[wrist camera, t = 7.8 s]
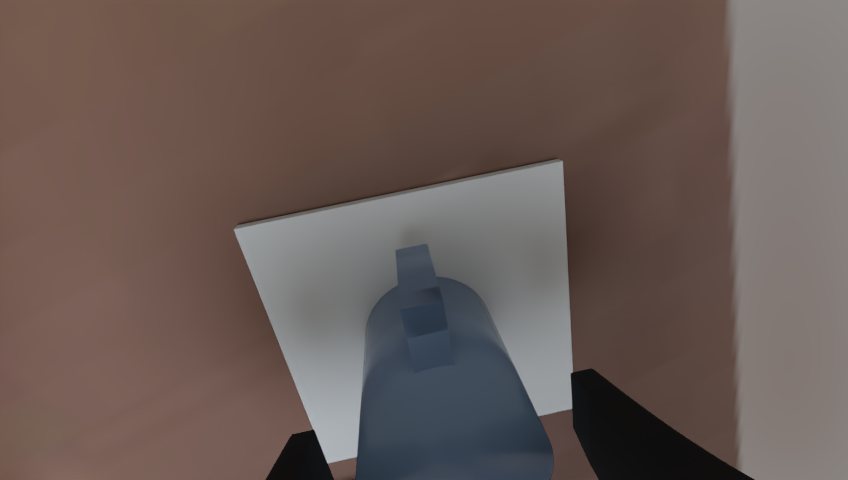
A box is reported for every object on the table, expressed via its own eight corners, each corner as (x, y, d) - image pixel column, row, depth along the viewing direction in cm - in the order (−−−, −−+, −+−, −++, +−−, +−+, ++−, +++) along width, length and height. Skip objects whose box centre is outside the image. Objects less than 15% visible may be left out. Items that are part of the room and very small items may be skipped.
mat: (557, 158, 14) (562, 160, 13) (570, 401, 18) (574, 408, 17) (237, 225, 13) (233, 229, 13) (327, 455, 17) (326, 463, 17)
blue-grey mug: (497, 369, 16) (558, 520, 10) (380, 394, 16) (380, 560, 10) (477, 217, 14) (543, 310, 8) (339, 245, 13) (308, 359, 8)
